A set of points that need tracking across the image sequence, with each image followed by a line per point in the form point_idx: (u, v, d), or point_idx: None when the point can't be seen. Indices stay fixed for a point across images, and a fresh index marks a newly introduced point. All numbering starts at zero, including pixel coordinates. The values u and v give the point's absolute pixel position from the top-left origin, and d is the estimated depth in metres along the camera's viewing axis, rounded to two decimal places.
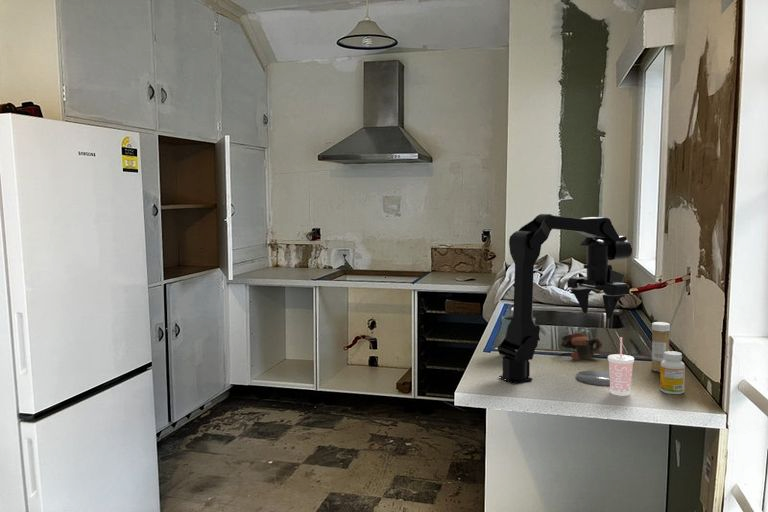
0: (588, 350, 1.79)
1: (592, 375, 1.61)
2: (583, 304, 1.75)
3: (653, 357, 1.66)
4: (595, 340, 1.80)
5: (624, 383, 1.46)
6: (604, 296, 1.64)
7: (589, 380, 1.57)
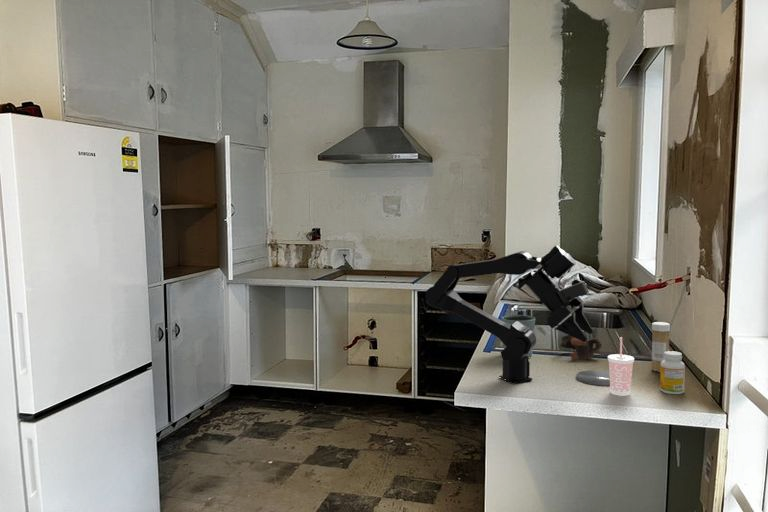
0: (588, 351, 1.79)
1: (592, 375, 1.61)
2: (582, 327, 1.56)
3: (653, 357, 1.66)
4: (594, 340, 1.80)
5: (624, 383, 1.46)
6: None
7: (589, 380, 1.57)
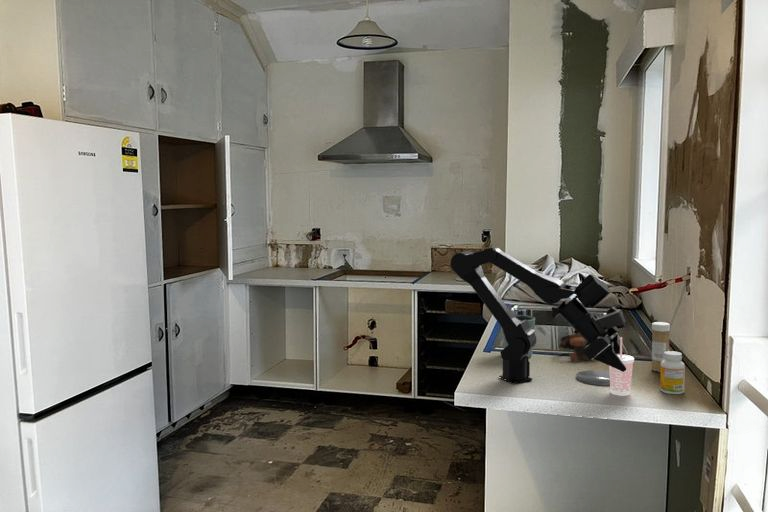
0: None
1: (592, 375, 1.61)
2: None
3: (653, 357, 1.66)
4: None
5: (624, 383, 1.46)
6: None
7: (589, 380, 1.57)
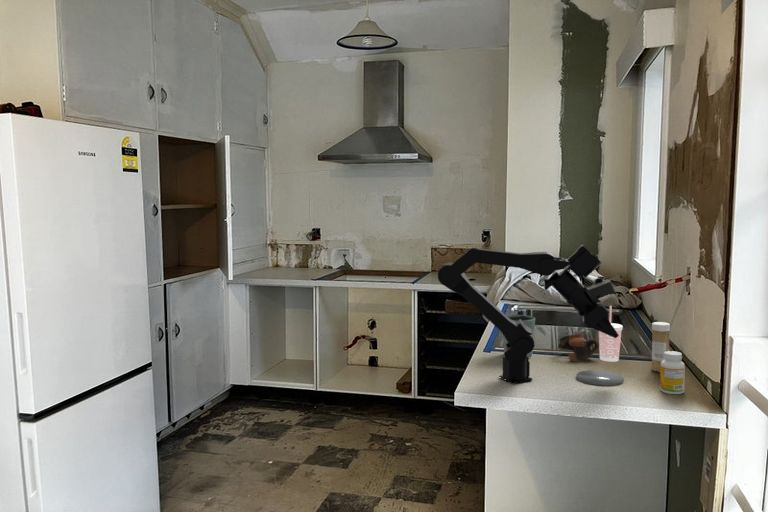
0: (586, 351, 1.78)
1: (592, 375, 1.61)
2: None
3: (653, 357, 1.66)
4: (593, 341, 1.79)
5: (615, 350, 1.52)
6: None
7: (589, 380, 1.57)
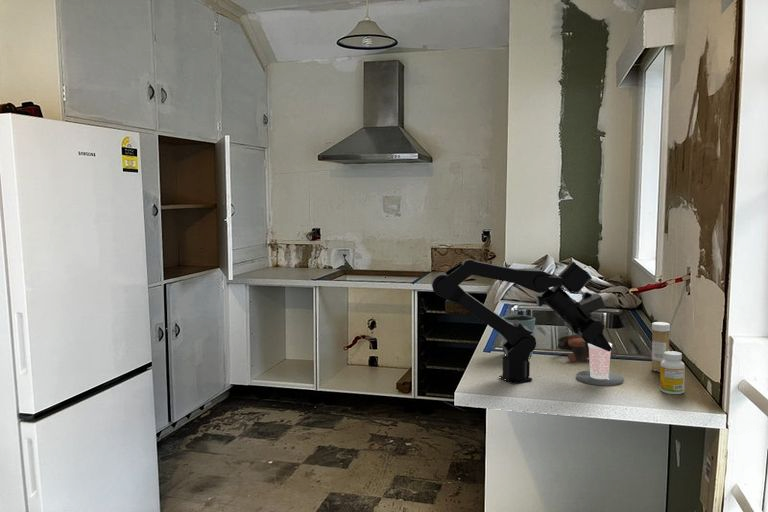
0: (585, 352, 1.78)
1: None
2: None
3: (653, 357, 1.66)
4: None
5: (606, 367, 1.57)
6: None
7: (589, 380, 1.57)
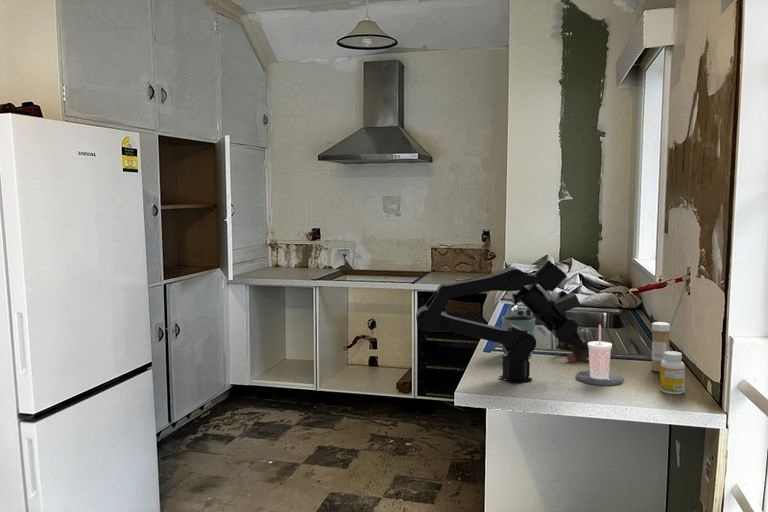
0: (585, 352, 1.77)
1: None
2: None
3: (653, 357, 1.66)
4: None
5: (606, 368, 1.57)
6: None
7: (589, 380, 1.57)
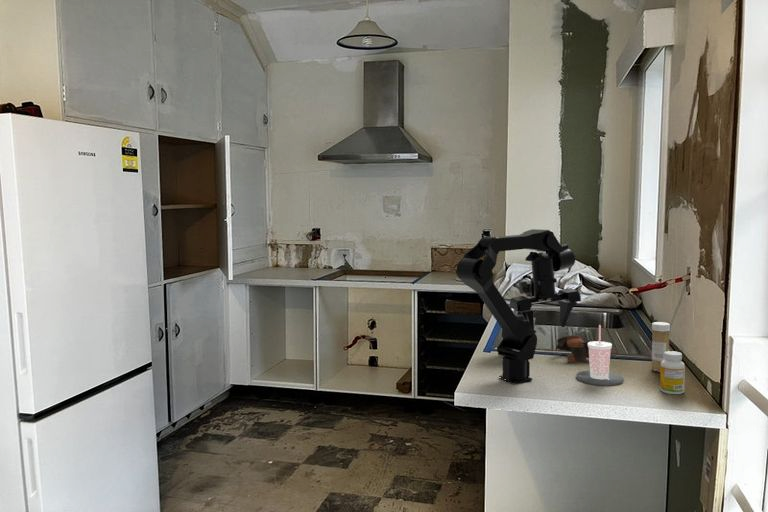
0: (584, 352, 1.77)
1: None
2: None
3: (653, 357, 1.66)
4: None
5: (606, 368, 1.57)
6: (570, 305, 1.64)
7: (589, 380, 1.57)
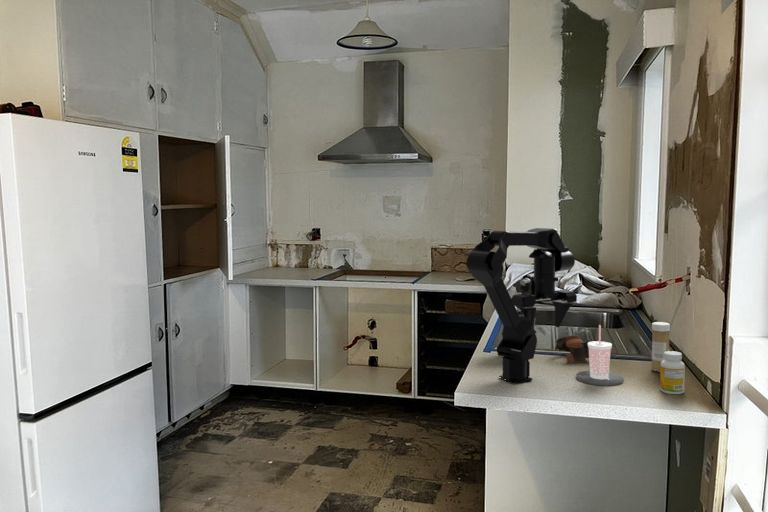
0: (583, 353, 1.77)
1: None
2: None
3: (653, 357, 1.66)
4: None
5: (606, 368, 1.57)
6: (567, 305, 1.67)
7: (589, 380, 1.57)
